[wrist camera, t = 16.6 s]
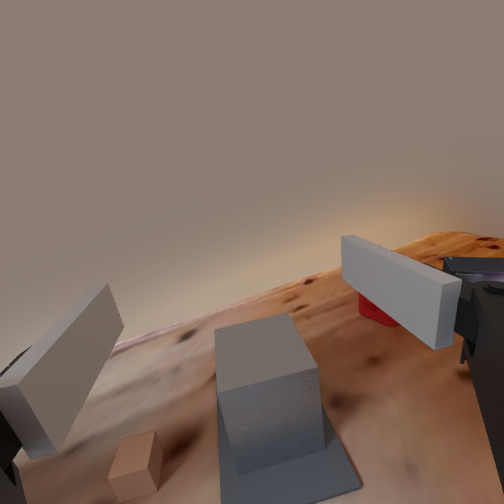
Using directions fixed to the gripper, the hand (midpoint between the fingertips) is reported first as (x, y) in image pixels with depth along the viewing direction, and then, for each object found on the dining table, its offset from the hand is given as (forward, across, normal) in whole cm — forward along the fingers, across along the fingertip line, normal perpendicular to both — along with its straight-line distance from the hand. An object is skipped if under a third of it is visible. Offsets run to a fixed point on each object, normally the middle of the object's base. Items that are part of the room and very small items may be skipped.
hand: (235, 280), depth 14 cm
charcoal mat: (+10, +2, -26) cm, 28 cm away
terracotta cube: (+9, -14, -26) cm, 31 cm away
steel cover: (+10, +2, -25) cm, 28 cm away
